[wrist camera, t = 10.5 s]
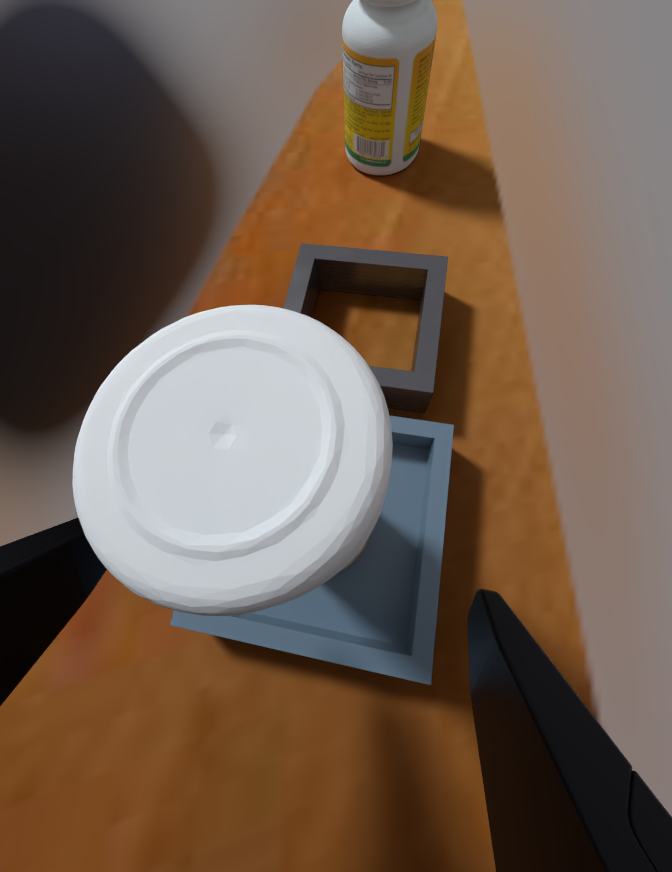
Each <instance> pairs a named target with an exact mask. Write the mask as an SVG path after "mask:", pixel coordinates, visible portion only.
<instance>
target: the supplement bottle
mask: <svg viewBox="0 0 672 872" xmlns="http://www.w3.org/2000/svg"><path fill="white" fill-rule="evenodd" d="M436 32H437V13H436V9H435V6H434V4H433V2H432V0H353V1H352V3H351V4H350V6H349V7H348V9H347V11H346V13H345V16H344V20H343V27H342V44H343V78H344V108H345V144H346V154H347V157H348V159H349V160H350V162H351V163H352V164H353V166H354V167H356V168H357V169H358V170H360V171H362V172H364V173H367V174H371V175H390V174H393V173H397V172H399V171H401V170H403V169H404V168H406V167H407V166H408V165H410V163H411V162H412V161H413V160H414V158H415V157H416V155H417V153H418V150H419V145H420V139H421V131H422V125H423V118H424V111H425V105H426V98H427V91H428V85H429V78H430V72H431V65H432V58H433V52H434V46H435V39H436Z"/></svg>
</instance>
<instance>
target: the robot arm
mask: <svg viewBox="0 0 672 872" xmlns="http://www.w3.org/2000/svg"><path fill="white" fill-rule="evenodd" d="M106 570H107V568H106V567H105V566H104V565H103V564H102V562H101V561H100V560H99V558H98V557H97V555H96V554H95V552H94V551H93V549H92V547H91V545H90V544H89V542H88V540H87V538H86V536H85V534H84V531H83V528H82V526H81V523H80V520H79V517H78V518H76V519H73V520H71V521H68V522H65V523H62V524H60V525H57V526H54V527H52V528H49V529H46V530H43V531H41V532H38V533H35V534H33V535H30V536H27V537H25V538H22V539H19V540H17V541H14V542H11V543H9V544H6V545H3V546H1V547H0V706H1V705H2V704H3V702H4V701H5V700H6V699H7V697H8V696H9V695H10V694H11V692H12V691H13V690H14V689H15V687H16V686H17V685H18V684H19V682H20V681H21V680H22V679H23V678H24V676H25V675H26V674H27V673H28V671H29V670H30V669H31V668H32V666H33V665H34V664H35V663H36V661H37V660H38V659H39V658H40V656H41V655H42V654H43V653H44V652H45V650H46V649H47V648H48V647H49V645H50V644H51V643H52V642H53V640H54V639H55V638H56V637H57V635H58V634H59V633H60V632H61V630H62V629H63V628H64V627H65V625H66V624H67V623H68V622H69V621H70V619H71V618H72V617H73V616H74V614H75V613H76V612H77V611H78V609H79V608H80V607H81V606H82V604H83V603H84V602H85V600H86V599H87V598H88V596H89V595H90V593H91V592H92V591H93V589H94V588H95V586H96V585H97V583H98V582H99V580H100V579H101V577H102V576H103V574H104V573H105V571H106ZM468 644H469V669H470V690H471V701H472V709H473V716H474V722H475V729H476V736H477V743H478V750H479V757H480V764H481V771H482V777H483V784H484V791H485V798H486V805H487V812H488V819H489V826H490V833H491V839H492V846H493V853H494V860H495V867H496V872H672V817H671V815H670V814H669V813H668V812H667V810H666V809H665V808H664V807H663V805H662V804H661V803H660V802H659V800H658V799H657V798H656V796H655V795H654V794H653V793H652V791H651V790H650V789H649V787H648V786H647V785H646V783H645V782H644V781H643V780H642V778H641V777H640V776H639V775H638V773H637V772H636V771H632V766H631V764H630V763H629V762H628V760H627V759H626V758H625V757H624V755H623V754H622V753H621V752H620V750H619V749H618V747H617V746H616V745H615V744H614V742H613V741H612V740H611V738H610V737H609V736H608V734H607V733H606V732H605V731H604V729H603V728H602V727H601V725H600V724H599V723H598V721H597V720H596V719H595V718H594V716H593V715H592V714H591V712H590V711H589V710H588V708H587V707H586V706H585V705H584V703H583V702H582V701H581V699H580V698H579V697H578V695H577V694H576V693H575V692H574V690H573V689H572V688H571V686H570V685H569V684H568V682H567V681H566V680H565V679H564V677H563V676H562V675H561V673H560V672H559V671H558V669H557V668H556V667H555V666H554V664H553V663H552V662H551V660H550V659H549V658H548V657H547V655H546V654H545V653H544V651H543V650H542V649H541V647H540V646H539V645H538V644H537V642H536V641H535V640H534V638H533V637H532V636H531V634H530V633H529V632H528V631H527V629H526V628H525V627H524V625H523V624H522V623H521V621H520V620H519V619H518V618H517V616H516V615H515V614H514V612H513V611H512V610H511V608H510V607H509V606H508V605H507V603H506V602H505V601H504V599H503V598H502V597H501V596H500V594H498V593H497V592H495V591H490V590H485V589H479V590H478V591H477V593H476V595H475V598H474V600H473V603H472V606H471V608H470V611H469V614H468Z"/></svg>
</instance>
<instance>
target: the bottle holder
mask: <svg viewBox="0 0 672 872" xmlns="http://www.w3.org/2000/svg"><path fill="white" fill-rule="evenodd" d="M447 263H448V257H445V256H434V255H423V254H412V253H401V252H390V251H379V250H368V249H357V248H346V247H335V246H324V245H313V244H302V243H301V246H300V249H299V253H298V257H297V260H296V264H295V268H294V271H293V275H292V279H291V282H290V286H289V289H288V293H287V297H286V300H285V304H284V308H283V309H287V310H291V311H295V312H297V313H300V314H303V315H306V316H308V317H311V318H312V317H313V313H314V309H315V305H316V300H317V296H318V292H319V289H320V290H329V291H339V292H348V293H358V294H367V295H377V296H386V297H395V298H405V299H414V300H421V303H420V311H419V318H418V326H417V333H416V341H415V348H414V356H413V363H412V371H404V370H397V369H389V368H381V367H373V366H369V368H370V369H371V371H372V372H373V374H374V375H375V377H376V379H377V381H378V383H379V385H380V387H381V389H382V392H383V394H384V397H385V401H386V404H387V407H388V408H395V409H402V410H409V411H416V412H423V413H425V411H426V408H427V406H428V404H429V401H430V399H431V397H432V394H433V390H434V381H435V371H436V362H437V353H438V344H439V335H440V326H441V317H442V308H443V299H444V290H445V281H446V272H447Z"/></svg>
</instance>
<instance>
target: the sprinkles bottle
mask: <svg viewBox="0 0 672 872" xmlns="http://www.w3.org/2000/svg"><path fill="white" fill-rule="evenodd" d="M392 448H393V443H392V429H391V421H390V416H389V411H388V408H387V404H386V401H385V397H384V394H383V392H382V389H381V387H380V385H379V383H378V381H377V379H376V377H375V375H374V374H373V372H372V371H371V369H370V368H369V366H368V364H367V363H366V361H365V360H364V359H363V358H362V356H361V355H360V354H359V353H358V352H357V351H356V350H355V348H354V347H353V346H352V345H350V344H349V343H348V342H347V341H346V340H345V339H344V338H343V337H342V336H340V335H339V334H338V333H336V332H335V331H334V330H332V329H330V328H329V327H327V326H326V325H324V324H323V323H321V322H319V321H317V320H315V319H313V318H311V317H308V316H306V315H303V314H300V313H297V312H295V311H291V310H287V309H283V308H278V307H271V306H263V305H237V306H227V307H220V308H216V309H211V310H207V311H203V312H199V313H196V314H193V315H190V316H188V317H185V318H183V319H181V320H179V321H177V322H175V323H173V324H171V325H169V326H167V327H165V328H163V329H161V330H159V331H158V332H156V333H155V334H153V335H152V336H150V337H149V338H148V339H146V340H145V341H144V342H142V343H141V344H140V345H139V346H137V347H136V348H135V349H133V350H132V351H131V352H130V353H129V354H128V355H127V356H126V357H125V358H124V359H123V360H122V361H120V363H119V364H118V365H117V366H116V367H115V368H114V369H113V370H112V372H111V373H110V374H109V376H108V377H107V378H106V380H105V381H104V382H103V384H102V385H101V387H100V388H99V390H98V391H97V393H96V395H95V397H94V399H93V401H92V403H91V404H90V406H89V409H88V411H87V413H86V415H85V418H84V420H83V423H82V427H81V430H80V433H79V436H78V439H77V443H76V449H75V454H74V465H73V493H74V501H75V506H76V510H77V515H78V517H79V520H80V523H81V526H82V528H83V531H84V534H85V536H86V538H87V540H88V542H89V544H90V545H91V547H92V549H93V551H94V552H95V554H96V555H97V557H98V558H99V560H100V561H101V562H102V564H103V565H104V566H105V567H106V568H107V569H108V570H109V571H110V572H111V573H112V574H113V575H114V576H115V578H117V579H118V580H119V581H120V582H121V583H123V584H124V585H125V586H126V587H127V588H128V589H130V590H131V591H132V592H134V593H135V594H137V595H139V596H141V597H143V598H145V599H147V600H149V601H151V602H153V603H155V604H157V605H160V606H163V607H166V608H169V609H172V610H175V611H179V612H183V613H189V614H196V615H202V616H231V615H240V614H247V613H251V612H255V611H260V610H264V609H267V608H270V607H273V606H276V605H279V604H283V603H286V602H289V601H291V600H293V599H296V598H298V597H300V596H302V595H304V594H306V593H308V592H310V591H312V590H314V589H316V588H317V587H319V586H320V585H322V584H324V583H325V582H327V581H328V580H330V579H331V578H332V577H333V576H335V575H336V574H337V573H338V572H340V571H342V570H344V569H346V568H347V567H348V566H350V565H352V564H353V563H354V562H355V561H356V560H357V559H358V558H359V557H360V556H361V554H362V553H363V551H364V549H365V547H366V545H367V543H368V540H369V536H370V534H371V532H372V530H373V529H374V526H375V524H376V522H377V520H378V518H379V516H380V513H381V510H382V506H383V503H384V500H385V496H386V493H387V489H388V483H389V477H390V471H391V464H392Z"/></svg>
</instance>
